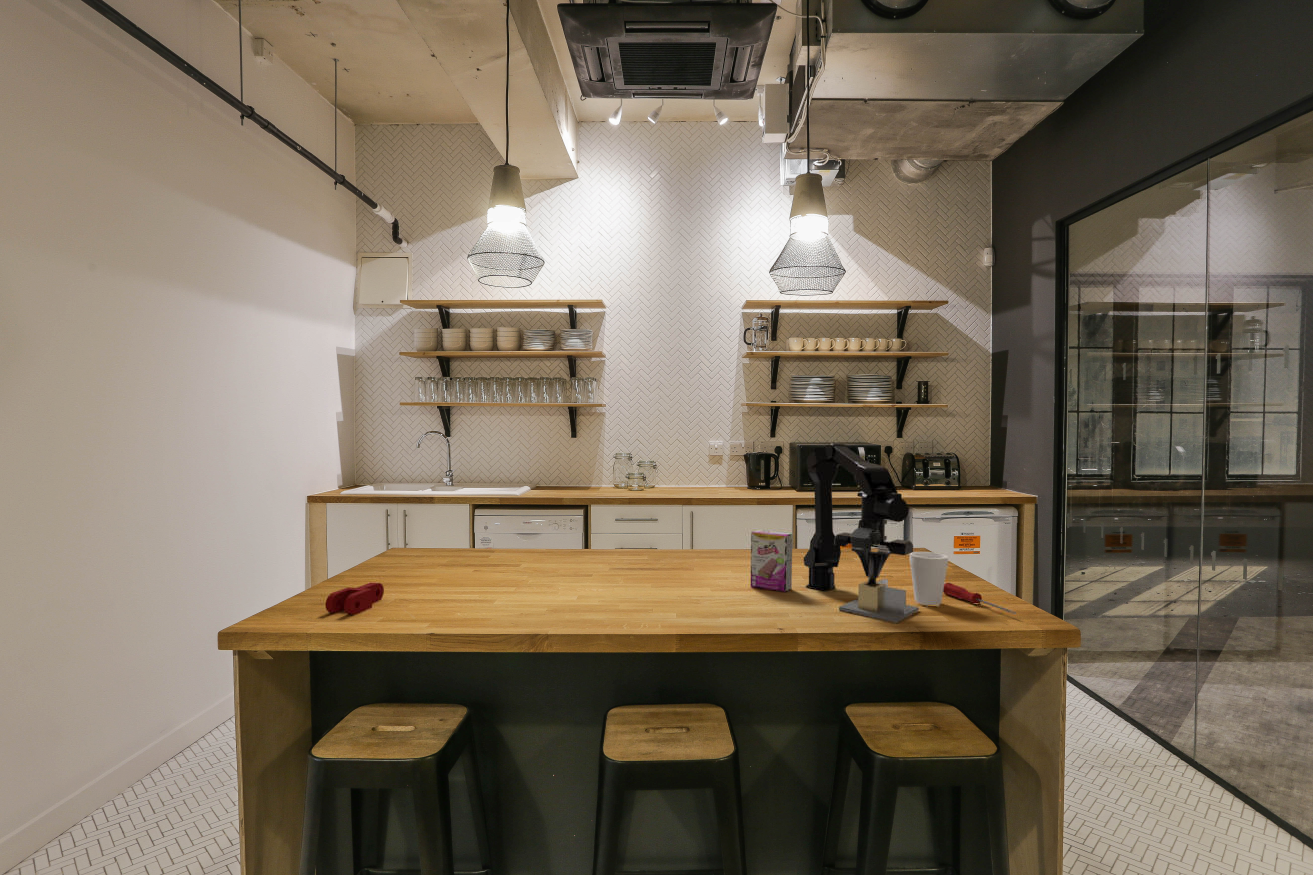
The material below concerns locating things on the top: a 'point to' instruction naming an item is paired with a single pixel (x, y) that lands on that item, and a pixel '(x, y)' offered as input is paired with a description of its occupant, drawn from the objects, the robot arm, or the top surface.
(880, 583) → the hinge
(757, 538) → the candy bar box
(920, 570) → the foam cup
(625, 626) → the top surface
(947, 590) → the screwdriver
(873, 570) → the hinge pin
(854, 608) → the base plate
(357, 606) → the mechanical linkage
